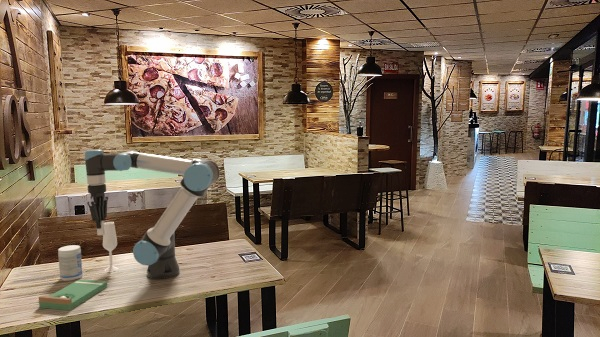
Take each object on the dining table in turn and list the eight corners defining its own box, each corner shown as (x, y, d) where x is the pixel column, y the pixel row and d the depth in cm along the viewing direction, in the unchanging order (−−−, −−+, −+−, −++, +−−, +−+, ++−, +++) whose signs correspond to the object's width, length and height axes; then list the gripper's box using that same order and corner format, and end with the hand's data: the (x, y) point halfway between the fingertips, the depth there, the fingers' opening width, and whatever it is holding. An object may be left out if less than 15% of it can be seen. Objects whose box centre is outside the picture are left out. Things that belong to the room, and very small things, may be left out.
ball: (68, 298, 179) (63, 305, 177) (69, 298, 182) (64, 305, 180) (61, 294, 178) (56, 301, 177) (62, 295, 181) (56, 302, 179)
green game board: (107, 286, 197) (106, 277, 196) (70, 310, 173) (69, 299, 173) (79, 284, 199) (78, 275, 199) (39, 307, 176) (38, 297, 175)
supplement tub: (83, 278, 206) (81, 248, 204) (61, 283, 201) (58, 252, 199) (81, 272, 214) (79, 243, 212) (59, 276, 209) (57, 246, 207)
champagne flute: (119, 266, 222) (116, 220, 219) (118, 271, 216) (115, 224, 213) (104, 268, 220) (102, 221, 217) (103, 272, 214) (100, 225, 211)
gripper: (97, 181, 203) (101, 230, 206) (79, 186, 190) (84, 238, 193) (112, 181, 202) (116, 231, 205) (95, 186, 189) (100, 239, 192)
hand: (101, 234), depth 199 cm, fingers closed
